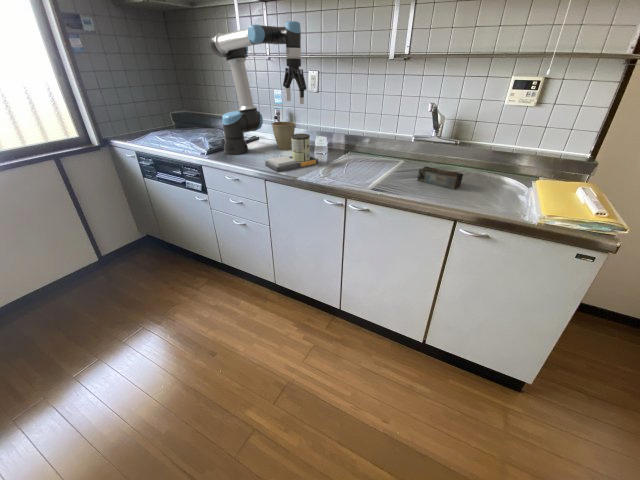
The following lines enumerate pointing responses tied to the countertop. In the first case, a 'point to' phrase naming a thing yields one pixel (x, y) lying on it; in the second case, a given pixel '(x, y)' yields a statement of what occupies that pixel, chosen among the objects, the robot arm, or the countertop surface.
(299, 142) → the coffee can
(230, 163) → the countertop surface
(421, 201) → the countertop surface
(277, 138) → the plant pot
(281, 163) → the grey compartment tray
